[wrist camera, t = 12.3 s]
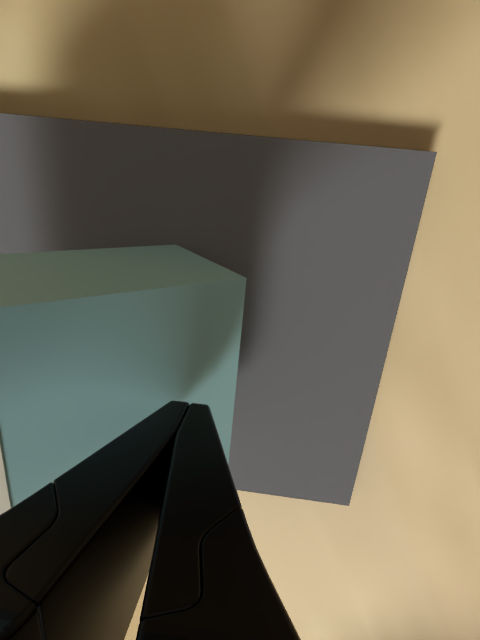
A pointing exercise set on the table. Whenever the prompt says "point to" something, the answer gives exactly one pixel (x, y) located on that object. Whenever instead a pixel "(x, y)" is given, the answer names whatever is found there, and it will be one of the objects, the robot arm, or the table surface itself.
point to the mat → (246, 263)
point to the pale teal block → (108, 351)
